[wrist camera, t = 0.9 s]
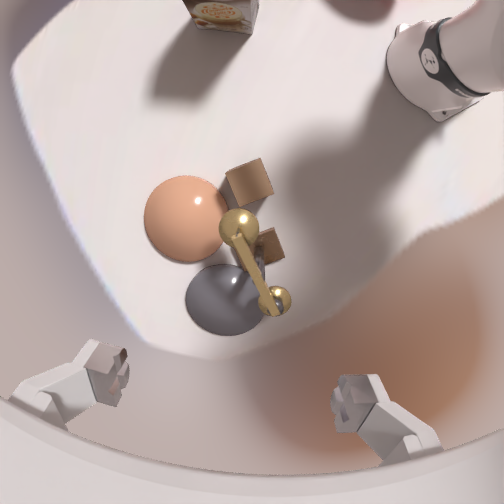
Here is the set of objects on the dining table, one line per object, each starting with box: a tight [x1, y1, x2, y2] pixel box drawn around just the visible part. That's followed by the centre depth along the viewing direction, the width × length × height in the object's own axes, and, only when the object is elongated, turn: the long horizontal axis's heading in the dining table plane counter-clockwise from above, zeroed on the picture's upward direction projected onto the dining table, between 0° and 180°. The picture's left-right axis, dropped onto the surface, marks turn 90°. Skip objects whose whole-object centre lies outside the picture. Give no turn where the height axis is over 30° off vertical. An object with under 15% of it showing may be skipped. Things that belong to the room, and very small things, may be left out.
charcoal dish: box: [186, 264, 264, 336], centre depth 50 cm, size 14×14×1 cm
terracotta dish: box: [144, 176, 228, 262], centre depth 45 cm, size 14×14×1 cm
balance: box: [219, 208, 291, 317], centre depth 41 cm, size 7×18×14 cm, turn 22°
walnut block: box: [225, 158, 274, 207], centre depth 41 cm, size 5×5×6 cm
